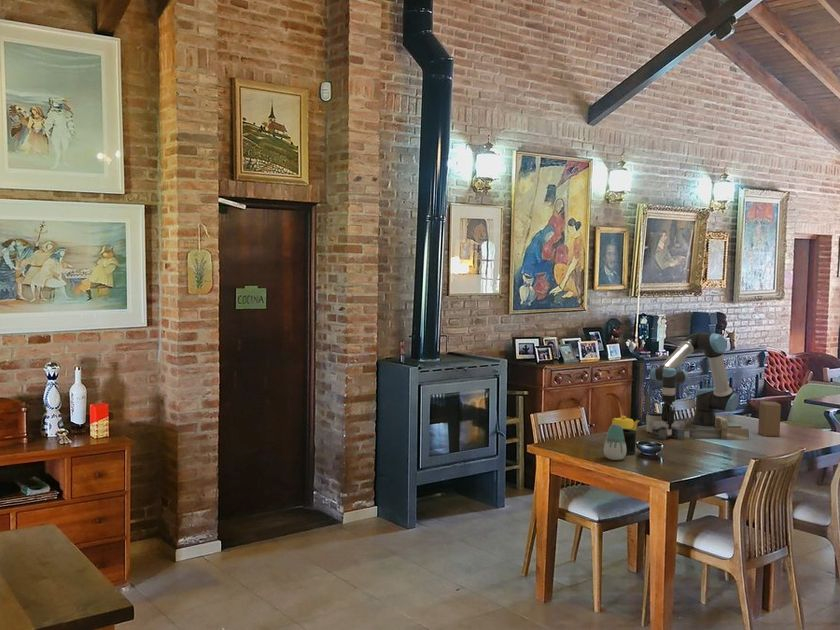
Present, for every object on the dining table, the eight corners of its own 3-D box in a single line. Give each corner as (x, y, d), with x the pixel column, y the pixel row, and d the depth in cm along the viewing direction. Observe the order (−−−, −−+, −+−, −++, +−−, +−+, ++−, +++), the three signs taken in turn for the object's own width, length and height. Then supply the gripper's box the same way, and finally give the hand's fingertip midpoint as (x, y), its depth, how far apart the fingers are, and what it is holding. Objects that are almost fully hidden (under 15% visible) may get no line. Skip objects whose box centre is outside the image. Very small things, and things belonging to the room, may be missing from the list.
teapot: (618, 433, 486) (619, 412, 485) (646, 439, 470) (647, 418, 469) (603, 436, 477) (604, 414, 477) (631, 442, 462) (632, 420, 461)
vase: (616, 455, 425) (618, 421, 424) (630, 460, 414) (632, 425, 414) (598, 457, 420) (599, 423, 420) (612, 462, 410) (613, 427, 409)
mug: (627, 455, 425) (628, 433, 425) (605, 450, 437) (606, 428, 436) (640, 453, 432) (641, 431, 432) (617, 448, 443) (618, 426, 443)
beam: (687, 436, 482) (688, 416, 482) (743, 436, 486) (744, 416, 485) (694, 439, 473) (694, 419, 472) (751, 439, 477) (751, 419, 476)
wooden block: (774, 433, 497) (775, 401, 496) (780, 437, 487) (781, 404, 486) (757, 433, 498) (759, 400, 497) (762, 436, 488) (764, 403, 487)
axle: (656, 429, 472) (655, 420, 473) (652, 429, 477) (652, 421, 478) (685, 429, 474) (685, 420, 475) (682, 430, 479) (681, 421, 480)
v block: (651, 436, 481) (652, 426, 481) (676, 436, 482) (676, 427, 482) (659, 439, 470) (659, 430, 470) (683, 439, 472) (684, 430, 471)
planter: (654, 429, 502) (654, 411, 501) (671, 433, 492) (672, 415, 491) (641, 431, 494) (642, 413, 494) (658, 435, 484) (659, 416, 484)
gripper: (656, 392, 484) (655, 430, 485) (668, 396, 466) (667, 436, 467) (668, 392, 484) (667, 430, 485) (681, 396, 466) (679, 436, 467)
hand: (667, 433), depth 476 cm, fingers closed on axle, 5 cm apart
